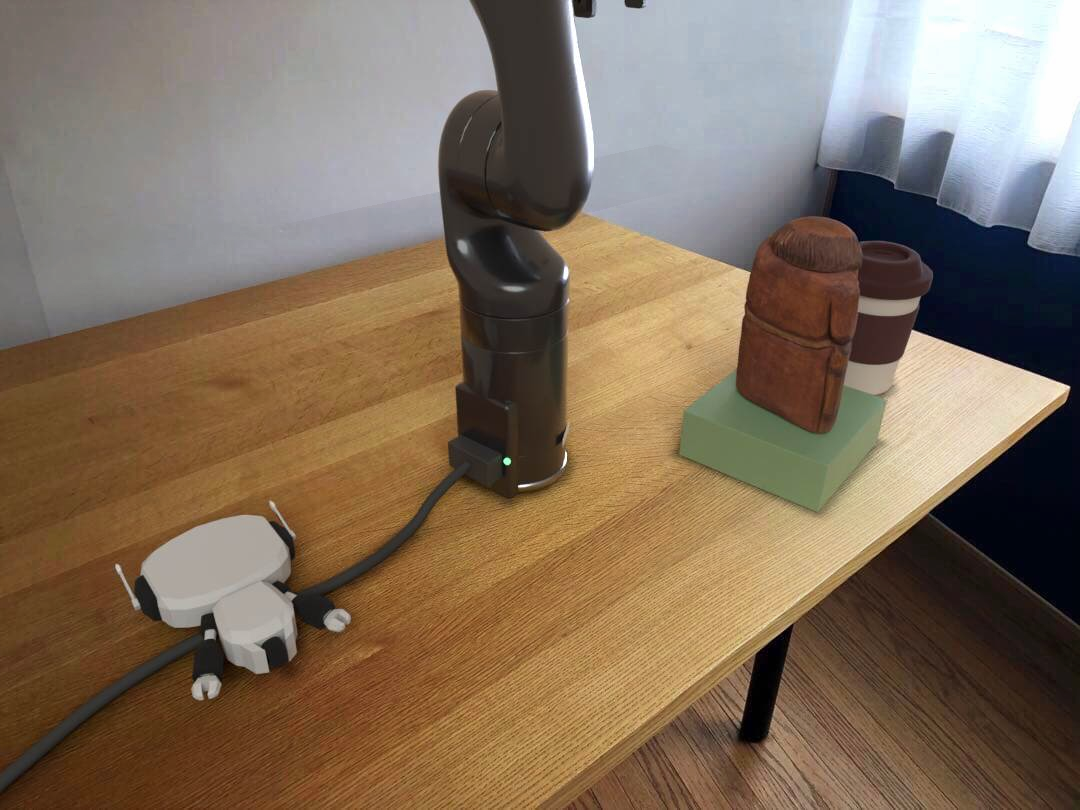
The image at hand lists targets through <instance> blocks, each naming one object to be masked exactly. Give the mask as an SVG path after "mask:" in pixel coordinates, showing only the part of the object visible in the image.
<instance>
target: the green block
mask: <svg viewBox="0 0 1080 810" xmlns="http://www.w3.org/2000/svg"><path fill="white" fill-rule="evenodd" d="M736 374H737V368H735V369H734V370H733V371H732V372H731V373H729V374H727V376H726V377H724V378H723V379H722V380H721V381H719V382H718V383H717V384H715V385H714V386H712V388H710V389H709V390H708V391H707V392H705V393H704V394H702V395H701V397H699V398H698V399H697V400H695V401H694V402H693V403H692V404H690V405H689V406H688V407H686V408H684V409H683V414H682V423H681V432H680V442H679V451H678V455H679V456H681V457H684V458H686V459H688V460H691V461H693V462H695V463H697V464H701V465H703V466H705V467H707V468H710V469H712V470H715V471H717V472H720V473H722V474H724V475H727V476H729V477H732V478H734V479H736V480H739V481H741V482H743V483H746V484H748V485H750V486H753V487H755V488H758V489H761V490H762V491H765V492H768V493H769V494H772V495H775V496H777V497H779V498H782V499H785V500H786V501H789V502H791V503H794V504H797V505H799V506H801V507H803V508H806V509H809V510H811V511H813V512H815V513H819V512H820V511H821V509H822V508H823V507H824V506H825V505H826V503H827V502H828V501H829V500H830V498H832V496H833V495H834V494H835V493H836V492H837V490H838V489H839V488H840V487H841V486H842V484H843V483H844V482H845V481H846V480H847V479H848V477H849V476H850V475H851V474H852V473H853V472H854V470H855V469H856V468H857V467H858V466H859V465H860V463H861V462H862V461H863V459H864V458H865V457H866V456H867V455H868V454H869V452H870V451H872V448H873V447H875V445H876V444H877V442H878V439H879V434H880V431H881V427H882V422H883V419H884V415H885V411H886V408H887V403H888V399H887V398H885V397H881V396H878V395H872V394H869V393H866V392H863V391H860V390H857V389H854V388H851V387H847V386H844V385H843V390H842V397H841V401H840V406H839V411H838V415H837V419H836V422H835V424H834V426H833V428H832V429H831V431H830V432H828V433H825V434H819V433H811V432H809V431H807V430H805V429H803V428H801V427H799V426H797V425H796V424H794V423H792V422H790V421H788V420H786V419H784V418H783V417H781V416H779V415H777V414H775V413H773V412H771V411H769V410H767V409H765V408H762V407H761V406H759V405H757V404H755V403H753V402H751V401H750V400H748V399H746V398H745V397H744V396H743V395H742V393H741V392H739V391H738V389H737V387H736Z"/></svg>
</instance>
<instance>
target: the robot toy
mask: <svg viewBox="0 0 1080 810" xmlns="http://www.w3.org/2000/svg"><path fill="white" fill-rule="evenodd" d="M268 502H269V507H270V509H271V510H272V511H273V513H275V515H276V517H277V518H278V520H279V521H280V523H281V524H279V523H278V522H276V521H275V520H270V521H268V520H267V519H266V518H265V517H264V516H262V515H252V514H241V515H234V516H228V517H223V518H221V519H217V520H214V521H210V522H207V523H204V524H200V525H198V526H194V527H192V528H191V529H189V530H187V531H185V532H183V533H182V534H179V535H177V536H176V537H174V538H172V539H170V540H168V541H167V542H166V543H164V544H163V545H161V546H159V547H158V548H156V549H155V550H154V551H153V552H151V553H150V554H149V555H148V556H147V557H146V559H145V560H144V561H142V563H141V566H140V567H141V568H140V574H139V576H138V577H137V578H136V579H135V580H134V589H133V591H132V589H131V588H130V586H129V583H128V582H127V580H126V577H125V575H124V573H123V570H122V567H121V565H120V564H118V563H115V565H114V566H115V570H116V573H117V574H118V575H119V577H120V579H121V581H122V583H123V585H124V587H125V589H126V592H127V593H128V595H129V597H130V599H131V600H130V601H131V604H132V607H133V608H134V610H135V612H136V611H139V610H141V612H142V614H143V615H145V616H147V617H148V618H149V619H150V620H152V621H153V622H160V621H162V622H164V623H165V624H167V625H168V626H169V627H172V628H179V629H181V628H182V629H183V628H195V627H199V633H200V634H201V635H202V637H203V638H205V640H204V641H203V642H202V643H201V644H200V645H199V646H198V647H197V648H196V649H194V655H193V663H192V664H193V666H192V676H191V679H192V681H193V682H194V683H193V684H192V686H191V688H190V690H191V694H192V697H193V698H194V699H195V700H197V701H204V700H205V698H204V694H205V693H206V692H207V697H208V700H211V699H214V698H217V697H218V695H219V694H220V691H221V688H222V685H223V684H222V682H223V674H224V672H223V671H224V658H225V657H226V659H227V661H229V663H231V664H233V665H235V666H237V667H243V668H245V669H248V670H249V671H251V672H252V673H254V674H255V675H260V674H268V673H270V669H269V668H271V669H273V670H277V669H280V668H282V667H284V666H285V665H286V664H287V663H288V662H289V663H290V662H291V661H292V659H293V658H294V657H295V656H296V655H297V654H298V650H297V644H296V641H297V637H298V636H299V634H298V627H297V626H298V625H297V621H296V615H297V616H298V617H299V619H300V620H301V622H303V623H305V624H307V625H309V626H311V627H313V628H316V629H318V630H320V631H323V630H324V629H325V628H327V630H329V631H330V632H335V633H341V632H343V631H344V630H345V629H346V626H347V625H349V624H350V623H351V620H352V616H351V614H350V613H349V612H347V611H346V610H345V609H344V608H336V605H335V603H334V600H332V599H329V598H327V597H325V596H324V595H321V596H320V595H318V594H316V593H307V594H301V595H295V594H293V592H291V587H290V585H288V584H286V583H285V582H286V581H287V580H288V578H289V577H290V575H291V573H292V561H293V560H294V559H295V558H296V549H295V542H294V541H296V539H297V536H296V534H295V532H294V531H293V530H292V529H290V527H289V526H288V524H287V522H286V521H285V519H284V518H283V516H282V515H281V513H280V512H279V509H277V506H276V504H275V503H274V501H272V500H268ZM295 613H296V615H295ZM218 636H219V637H218ZM216 637H218V639H219V641H220V644H221V647H220V645H219V644H218V642H217V638H216ZM224 655H225V657H224Z"/></svg>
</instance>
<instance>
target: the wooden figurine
mask: <svg viewBox="0 0 1080 810" xmlns="http://www.w3.org/2000/svg"><path fill="white" fill-rule="evenodd" d="M862 258H863V254H862V250H861V247H860V245H859V240H858V237H857V235H856V233H855V232H854V231H853V230H852V228H850V226H848V225H847V224H844V223H842V222H841V221H839V220H836V219H832V218H830V217H825V216H814V215H813V216H812V215H811V216H804V217H799V218H796V219H792V220H791V221H789V222H787V223H785V224H784V225H782V226H781V227H780V228H778V229H776V230H775V231H774V232H773V233H772V234H771V235H770V236H767V237H766V238H765V239H764V240H763V241H761V243H760V245H759V246H758V247H757V249H756V251H755V255H754V258H753V263H752V267H751V269H750V273H749V278H748V282H747V287H746V292H745V303H744V306H743V308H744V315H743V317H742V321H741V331H740V337H739V344H738V355H737V367H736V369H737V374H736V387H737V389H738V391H739V392H741V393H742V395H743V396H744V397H745V398H746V399H748V400H750V401H751V402H753V403H755V404H757V405H759V406H761V407H762V408H765V409H767V410H769V411H771V412H773V413H775V414H777V415H779V416H781V417H783V418H784V419H786V420H788V421H790V422H792V423H794V424H796V425H797V426H799V427H801V428H803V429H805V430H807V431H809V432H811V433H819V434H825V433H828V432H830V431H831V429H832V428H833V426H834V424H835V422H836V419H837V415H838V411H839V406H840V401H841V397H842V390H843V385H844V380H845V375H846V370H847V366H848V361H849V357H850V353H851V348H852V339H853V336H854V333H855V329H856V324H857V318H858V303H859V297H860V288H859V282H858V279H857V277H858V269H860V268H861V266H862Z"/></svg>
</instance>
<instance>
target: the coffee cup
mask: <svg viewBox="0 0 1080 810" xmlns="http://www.w3.org/2000/svg"><path fill="white" fill-rule="evenodd" d="M858 242H859V241H858ZM859 245H860V247H861V250H862V254H863V258H862V266H861V268H860V269H858V277H857V279H858V282H859V288H860V297H859V303H858V318H857V324H856V329H855V333H854V336H853V339H852V348H851V353H850V357H849V361H848V366H847V370H846V375H845V380H844V386H847V387H851V388H854V389H857V390H860V391H863V392H866V393H869V394H872V395H875V396H878V395H880V394H883V393H885V392H887V391H888V390H889V389H890V387H891V386H892V384H893V382H894V381H893V380H894V377H895V374H896V372H897V369H898V366H899V364H900V360H901V359H902V358H903V356H904V354H905V353H906V350H907V346H908V342H909V340H910V337H911V334H912V331H913V329H914V326H915V323H916V319H917V317H918V314H919V310H920V300H921V297H922V296H924V295H925V294H927V293H928V292H929V291H930V290H931V285H932V281H933V278H934V273H933V270H932V269H931V268H930V267H929V266H928V265H927V264H925V263H924V262H923V261H922V260H921V256H920V254H919V253H918V252H917V251H915V250H914V249H913V248H912V247H911V248H910V247H909V246H906V245H904V244H899V243H896V242H891V241H884V240H866V241H860V242H859Z"/></svg>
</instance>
